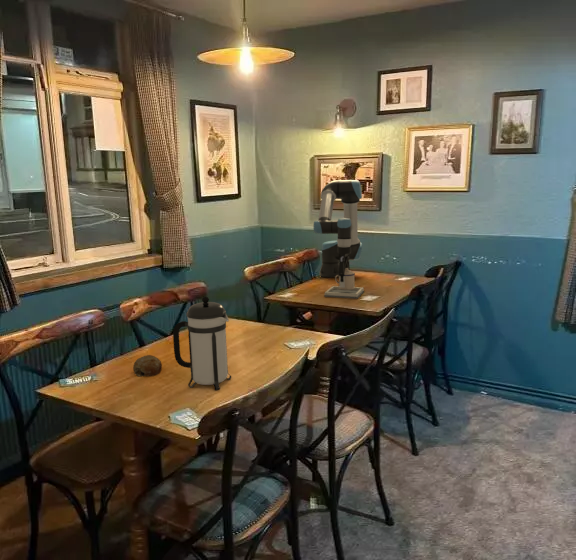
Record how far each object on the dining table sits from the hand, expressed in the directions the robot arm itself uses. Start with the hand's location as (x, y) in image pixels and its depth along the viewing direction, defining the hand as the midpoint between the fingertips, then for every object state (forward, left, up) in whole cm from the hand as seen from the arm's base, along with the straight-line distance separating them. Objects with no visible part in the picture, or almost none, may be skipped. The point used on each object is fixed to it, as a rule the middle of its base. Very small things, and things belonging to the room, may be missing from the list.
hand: (344, 285), depth 300 cm
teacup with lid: (0, 0, -2) cm, 2 cm away
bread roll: (+135, -39, -5) cm, 141 cm away
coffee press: (+139, -14, -5) cm, 140 cm away
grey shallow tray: (0, 0, -5) cm, 5 cm away
